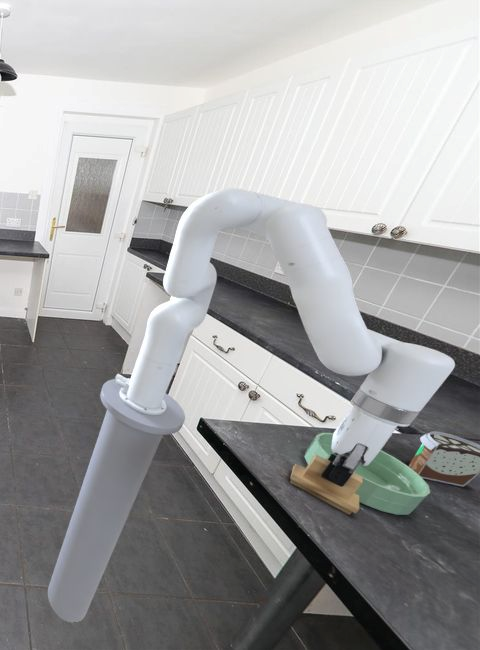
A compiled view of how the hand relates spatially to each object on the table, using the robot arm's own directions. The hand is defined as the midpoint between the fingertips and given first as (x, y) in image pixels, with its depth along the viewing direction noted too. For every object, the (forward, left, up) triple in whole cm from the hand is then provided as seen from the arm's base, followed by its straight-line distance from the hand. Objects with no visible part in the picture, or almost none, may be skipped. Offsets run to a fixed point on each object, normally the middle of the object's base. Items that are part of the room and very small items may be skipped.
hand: (332, 476), depth 69 cm
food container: (+17, +33, -5) cm, 37 cm away
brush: (0, 0, -5) cm, 5 cm away
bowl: (+5, +12, -5) cm, 14 cm away
